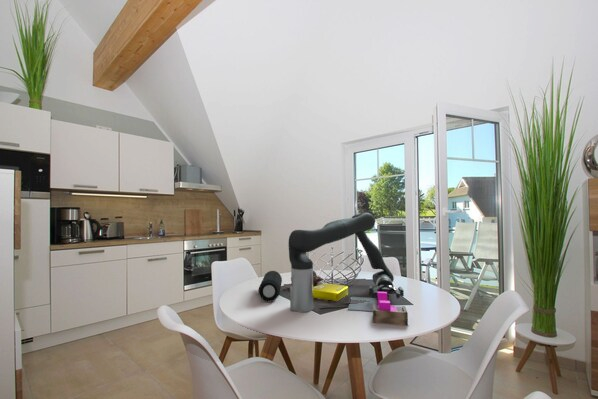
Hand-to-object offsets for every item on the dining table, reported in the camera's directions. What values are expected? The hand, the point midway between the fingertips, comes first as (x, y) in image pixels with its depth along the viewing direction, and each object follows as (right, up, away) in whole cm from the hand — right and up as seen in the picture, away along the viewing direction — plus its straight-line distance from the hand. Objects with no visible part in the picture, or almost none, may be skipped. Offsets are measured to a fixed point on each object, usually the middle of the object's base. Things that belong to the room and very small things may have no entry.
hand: (387, 295), depth 121 cm
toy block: (-2, -6, -7) cm, 10 cm away
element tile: (-22, -8, +21) cm, 31 cm away
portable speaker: (-51, -8, +23) cm, 56 cm away
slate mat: (-8, -6, +7) cm, 13 cm away
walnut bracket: (-3, -6, -12) cm, 13 cm away
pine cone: (-32, -8, +36) cm, 49 cm away
